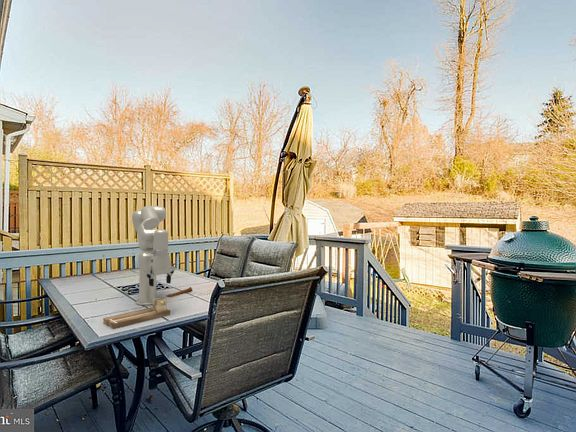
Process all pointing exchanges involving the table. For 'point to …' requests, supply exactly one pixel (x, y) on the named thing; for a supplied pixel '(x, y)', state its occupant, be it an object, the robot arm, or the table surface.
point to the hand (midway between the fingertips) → (160, 284)
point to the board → (134, 317)
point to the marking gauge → (159, 304)
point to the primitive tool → (180, 292)
